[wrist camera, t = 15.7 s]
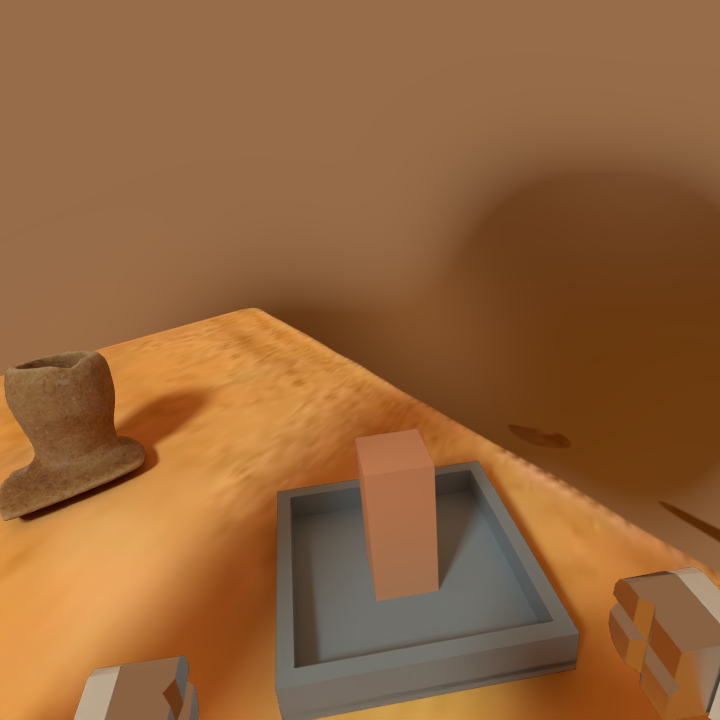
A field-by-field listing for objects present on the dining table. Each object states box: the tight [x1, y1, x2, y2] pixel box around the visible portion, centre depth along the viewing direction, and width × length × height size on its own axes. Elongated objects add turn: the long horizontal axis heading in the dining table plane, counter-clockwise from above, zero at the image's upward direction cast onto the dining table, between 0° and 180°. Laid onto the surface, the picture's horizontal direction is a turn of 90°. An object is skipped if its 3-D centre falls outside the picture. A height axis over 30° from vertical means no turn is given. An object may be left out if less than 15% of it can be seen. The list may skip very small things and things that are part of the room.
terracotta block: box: [355, 429, 439, 601], centre depth 42 cm, size 5×5×12 cm
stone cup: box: [0, 351, 145, 521], centre depth 60 cm, size 15×12×15 cm
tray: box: [275, 461, 580, 720], centre depth 44 cm, size 20×20×4 cm
